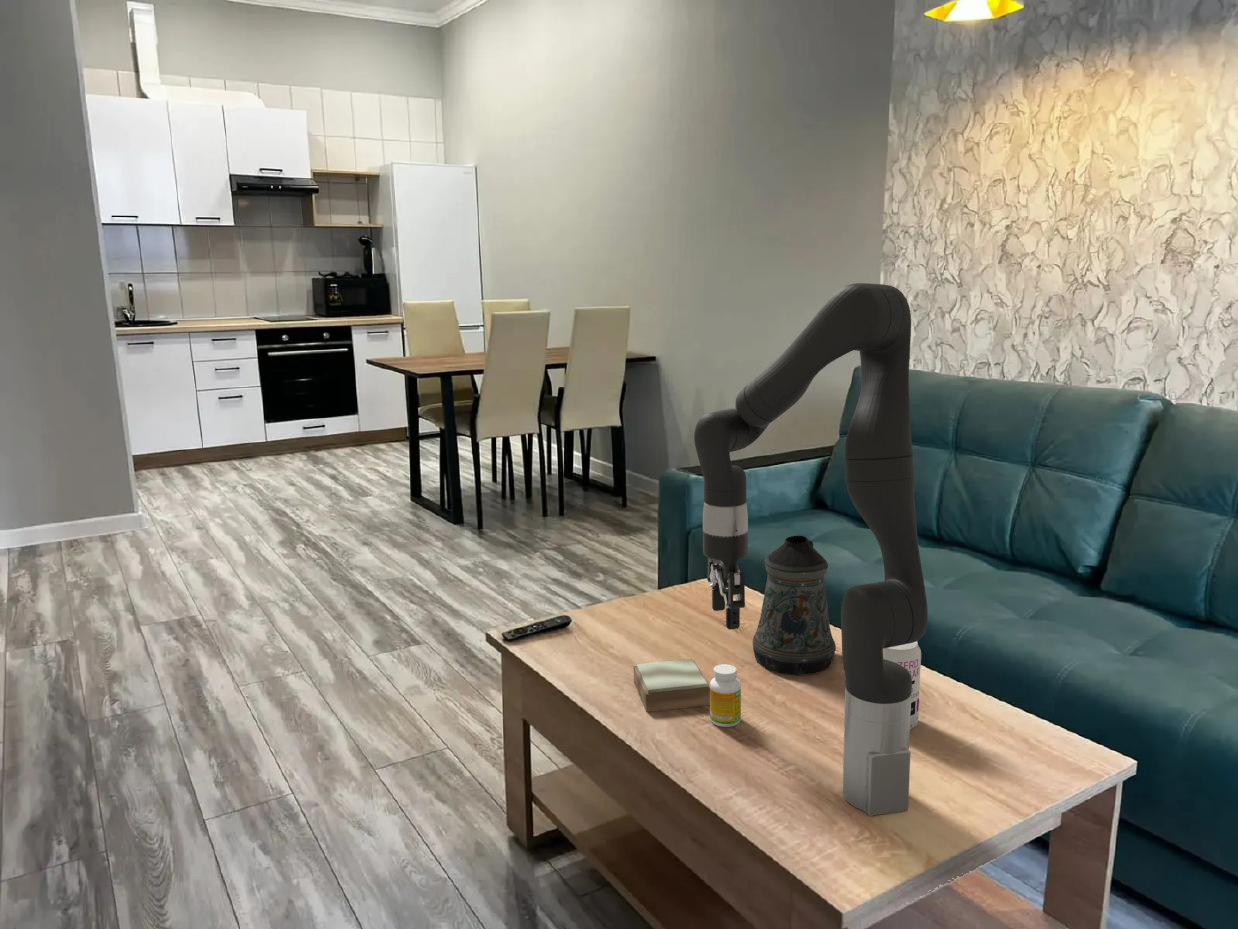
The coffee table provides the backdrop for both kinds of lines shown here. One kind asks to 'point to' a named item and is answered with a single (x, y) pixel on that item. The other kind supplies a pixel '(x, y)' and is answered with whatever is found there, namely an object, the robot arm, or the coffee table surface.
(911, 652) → the supplement can
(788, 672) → the painted ceramic vase
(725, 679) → the supplement bottle
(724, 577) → the robot arm
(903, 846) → the coffee table surface
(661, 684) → the plinth
